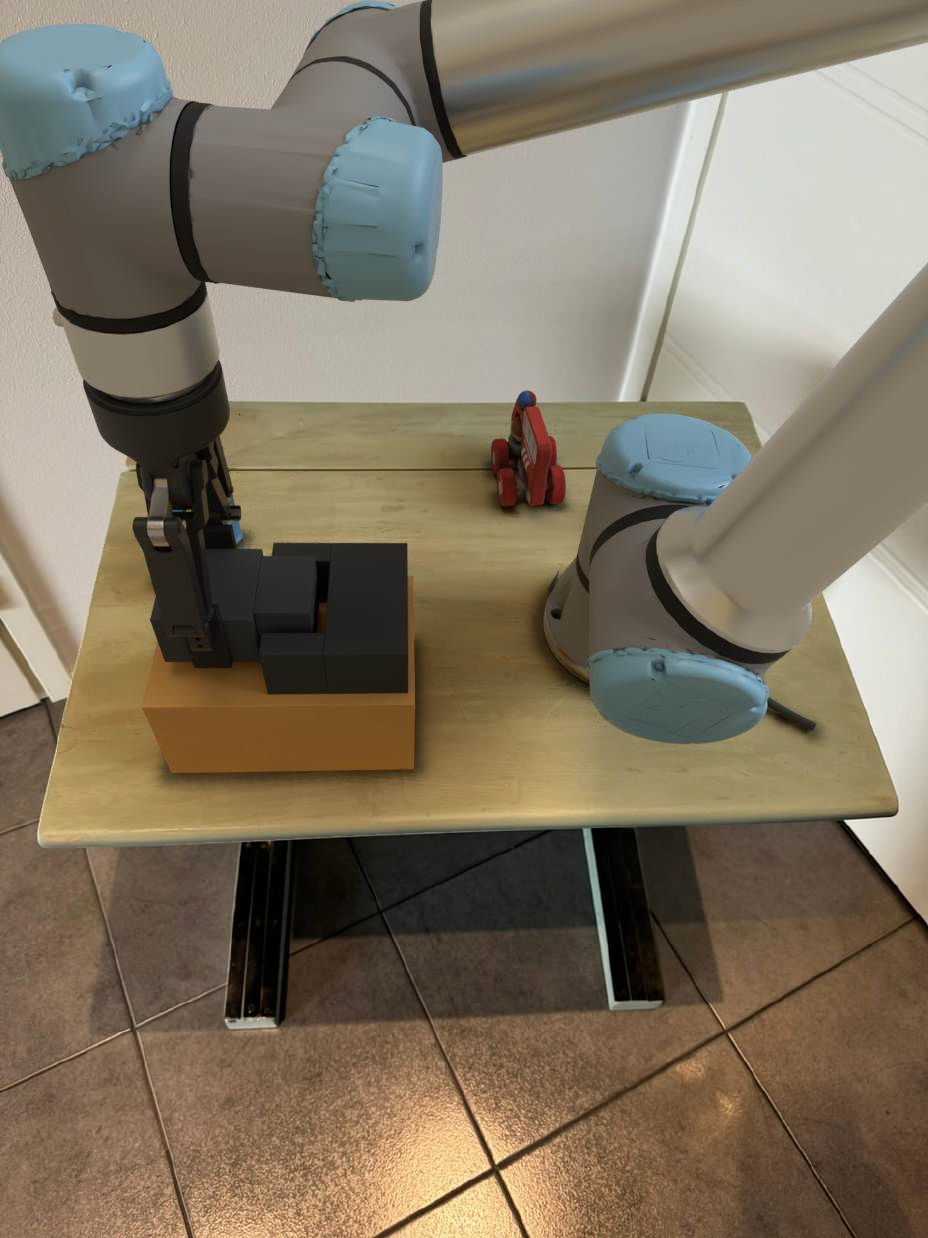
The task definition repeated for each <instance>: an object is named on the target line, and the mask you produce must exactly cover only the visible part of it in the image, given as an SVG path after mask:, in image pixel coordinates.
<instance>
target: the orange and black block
mask: <svg viewBox="0 0 928 1238" xmlns="http://www.w3.org/2000/svg"><path fill="white" fill-rule="evenodd" d="M408 551H409V550H408V542H273V544H272V551H271V556H314V557H315V561H316V570H317V580H318V589H319V598H320V600H319V612H318V624H317V633H262V634H261V642H260V649H259V658H260V662H233V663H232V668H194V666H193V663H192V662H165V660H164V658H163V655H162V652H161V649H160V647H159V644H158V641H157V640H156V644H155V648H154V653H153V658H152V661H151V666H150V671H149V675H148V679H147V684H146V688H145V693H144V697H143V703H142V706H141V708H142V711H143V713H144V715H145V717H146V720H147V722H148V724H149V727H150V729H151V731H152V733H153V735H154V737H155V739H156V742H157V745H158V746H159V749H160V751H161V753H162V755H163V758H164V760H165V762H166V764H167V767H168V769H169V771H170V773H171V774H206V773H207V774H209V773H210V774H212V773H216V774H217V773H219V774H220V773H271V772H277V773H278V772H329V771H331V772H333V771H339V772H340V771H390V770H392V771H394V770H396V771H397V770H414V769H415V732H416V731H415V730H416V726H415V725H416V722H415V721H416V683H415V681H416V680H415V679H416V677H415V676H416V675H415V674H416V673H415V672H416V671H415V609H414V608H415V607H414V606H415V605H414V604H415V603H414V598H415V597H414V576H413V575H409V567H408V565H409V564H408V563H409V557H408V554H409V553H408Z"/></svg>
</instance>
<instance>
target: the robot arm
mask: <svg viewBox="0 0 928 1238" xmlns="http://www.w3.org/2000/svg"><path fill="white" fill-rule="evenodd" d="M924 44H928V0H421V1H416V2H411V3H408V4H405V5H401V6H397V5H395V4H392V3H390V2H387V1H380V0H360V1H357V2H354V3H351V4H349V5H347V6H346V7H343V8H342V9H340V10H339V11H338V12H337V13H335V14H334V15H332V16H330V17H329V18H327V19H326V21H325V22H324V24H323V25H322V26H321V27H320V28H319V29H318V30H316V31H315V32H314V33H313V35H312V36H311V38H310V40H309V42H308V44H307V46H306V48H305V50H304V53H303V55H302V58H301V60H300V61H299V63H298V65H296V68H295V69H294V71H293V73H292V75H291V77H290V78H289V80H288V82H287V83H286V85H285V86H284V88H283V89H282V91H281V92H280V94H279V95H278V97H277V99H276V100H275V101H274V103H273V105H272V106H271V108H270V109H269V108H254V107H239V106H223V105H215V104H213V103H210V102H209V103H208V102H199V101H197V100H196V101H195V100H190V99H183V98H178V97H175V96H174V95H173V94H174V93H173V92H174V91H173V89H172V85H171V83H172V82H171V80H170V79H169V78H168V77H167V74H166V70H165V67H164V63H163V60H162V56H161V55H160V54H159V51H157V49H156V48H155V47H154V45H153V44H152V43H151V42H150V41H148V40H147V39H146V38H145V37H142V36H141V35H139V34H137V33H134V32H127V31H126V32H124V31H121V30H120V29H119V28H117V27H116V26H111V25H104V24H94V23H61V24H51V25H44V26H39V27H33V28H28V29H25V30H23V31H19V32H16V33H13V34H11V35H9V36H8V37H6V38H4V39H3V40H2V41H0V154H1V158H2V162H1V166H2V169H3V172H4V175H5V177H6V178H8V179H9V182H10V184H11V187H12V190H13V193H14V194H15V197H16V200H17V203H18V205H19V207H20V210H21V212H22V214H23V217H24V219H25V222H26V225H27V228H28V230H29V233H30V236H31V238H32V242H33V244H34V247H35V249H36V252H37V255H38V257H39V261H40V262H41V265H42V268H43V271H44V273H45V276H46V279H47V282H48V284H49V285H48V286H49V288H50V295H51V296H52V298H53V301H54V304H55V308H54V309H53V312H52V317H51V318H52V321H53V323H54V324H55V325H56V326H57V327H60V328H63V331H64V334H65V336H66V339H67V342H68V345H69V348H70V350H71V353H72V356H73V359H74V362H75V364H76V367H77V370H78V373H79V374H80V376H81V378H82V386H83V390H84V393H85V396H86V399H87V402H88V404H89V407H90V410H91V413H92V416H93V419H94V422H95V425H96V429H97V430H98V432H99V434H100V436H101V438H102V439H103V441H104V442H105V443H106V444H107V445H108V446H110V447H111V448H112V449H114V450H115V451H117V452H119V453H120V454H123V455H125V456H126V457H128V458H130V459H131V460H132V461H134V462H135V472H136V478H137V484H138V485H137V486H138V487H139V488H140V490H142V492H143V495H144V501H145V508H146V513H147V516H148V517H147V516H135V517H134V518H133V520H132V526H131V527H132V528H131V529H132V532H133V535H134V538H135V539H136V540H137V543H138V545H139V547H140V548H141V550H142V552H143V557H144V560H145V563H146V567H147V571H148V573H149V578H150V581H151V584H152V588H153V591H154V595H155V597H156V599H157V603H158V606H159V610H160V613H161V619H162V621H163V624H164V627H165V631H166V634H167V636H168V637H173V636H184V638H185V641H186V644H187V647H188V650H189V654H190V657H191V660H192V663H193V666H194V668H232V663H233V659H232V655H231V651H230V647H229V644H228V640H227V636H226V632H225V629H224V625H223V621H222V617H221V613H220V609H219V605H218V604H213V603H212V595H211V588H210V580H209V573H208V565H207V558H206V550H205V548H212V549H238V544H236V540H235V535H234V531H233V526H232V524H227V521H239V522H240V521H241V520H242V507H241V505H240V504H235V505H230V504H229V502H228V499H227V498H231V497H232V494H234V491H235V489H234V488H235V487H234V485H233V482H232V478H231V475H230V472H229V471H230V470H229V466H228V463H227V459H226V456H225V450H224V451H223V449H224V446H223V444H222V443H223V442H222V439H221V435H222V434H223V433H224V431H225V430H226V427H227V426H228V423H229V420H230V415H231V408H230V403H229V397H228V392H227V386H226V381H225V377H224V371H223V366H222V363H221V361H220V353H221V349H220V346H219V342H218V341H219V340H218V337H217V332H216V327H215V322H214V317H213V312H212V307H211V303H210V298H209V293H208V288H207V284H206V283H209V284H210V283H211V284H216V285H218V284H225V285H233V286H240V287H246V288H247V287H248V288H256V289H262V290H270V291H277V292H285V293H294V294H300V295H301V294H302V295H307V296H315V297H324V298H331V299H337V300H338V301H341V302H350V303H355V302H356V301H363V300H367V301H389V302H390V301H394V302H411V301H412V302H413V301H414V300H417V299H419V298H421V297H423V295H424V294H426V292H427V291H428V290H429V288H430V286H431V284H432V281H433V278H434V275H435V270H436V262H437V254H438V253H437V252H438V249H439V242H440V233H441V223H442V221H441V220H442V210H443V209H442V206H443V181H444V177H443V174H444V172H443V168H444V167H443V164H445V163H449V162H453V161H456V160H461V159H464V158H468V156H472V155H475V154H481V153H484V152H489V151H492V150H497V149H500V148H504V147H508V146H509V147H510V146H513V145H516V144H517V145H518V144H520V143H521V144H522V143H524V142H525V143H526V142H529V141H533V140H537V139H540V138H545V137H550V136H553V135H557V134H561V133H565V132H569V131H573V130H578V129H583V128H586V127H590V126H594V125H598V124H601V123H606V122H610V121H614V120H615V121H616V120H618V119H622V118H626V117H631V116H634V115H638V114H639V115H640V114H642V113H647V112H651V111H655V110H659V109H663V108H664V109H665V108H667V107H672V106H675V105H680V104H684V103H688V102H691V101H696V100H700V99H704V98H708V97H713V96H716V95H720V94H724V93H729V92H732V91H736V90H740V89H745V88H748V87H753V86H757V85H762V84H764V83H768V82H773V81H778V80H780V79H786V78H790V77H793V76H798V75H802V74H805V73H806V74H807V73H809V72H813V71H817V70H821V69H822V70H823V69H826V68H830V67H834V66H839V65H842V64H846V63H851V62H855V61H858V60H859V61H860V60H863V59H867V58H871V57H875V56H879V55H882V54H886V53H887V54H888V53H890V52H896V51H899V50H903V49H907V48H912V47H915V46H920V45H924ZM222 446H223V447H222ZM595 468H596V470H595V476H594V480H593V483H592V488H591V493H590V496H589V498H590V499H589V502H588V506H587V510H586V514H585V518H584V523H583V527H582V532H581V536H580V539H579V543H578V544H579V545H578V548H577V553H576V556H575V557H574V559H573V560H572V561H571V562H570V564H569V565H568V566H567V568H566V569H565V570H564V571H563V573H562V574H561V575H560V574H559V573H560V570H558V571H557V573H556V574H555V576H554V578H553V579H552V581H551V583H550V584H549V586H548V587H547V591H546V597H547V598H546V603H545V607H544V613H543V619H542V620H543V622H542V625H543V632H544V637H545V639H546V642H547V645H548V647H549V649H550V651H551V652H552V655H554V657H555V658H556V660H557V661H558V662H559V663H560V664H561V665H562V666H563V667H564V668H565V669H566V670H567V671H568V672H569V673H571V674H572V675H573V676H575V677H576V678H578V679H579V680H581V681H583V682H585V683H586V684H589V693H590V699H591V702H592V704H593V706H594V707H595V709H596V710H597V712H598V714H599V715H600V717H602V718H603V719H604V720H605V721H606V722H607V723H608V724H610V726H612V727H614V728H616V729H617V730H620V731H621V732H623V733H626V734H627V735H631V736H634V737H637V738H639V739H644V740H647V741H652V742H657V743H662V744H669V745H670V744H672V745H701V744H710V743H717V742H721V741H722V742H723V741H726V740H729V739H733V738H736V737H739V736H740V735H743V734H744V733H747V732H749V731H751V730H752V729H753V728H755V727H756V726H757V725H758V724H759V723H760V722H762V720H763V719H764V717H765V715H766V714H767V710H768V708H769V709H771V710H773V711H774V712H776V713H777V714H779V715H781V716H782V717H784V718H786V719H788V720H789V721H792V722H793V723H795V724H798V725H799V726H801V727H803V728H805V729H807V730H809V731H811V732H814V729H815V728H816V727H817V722H815V721H813V720H811V719H809V718H807V717H805V716H803V715H801V714H799V713H797V712H795V711H794V710H791V709H790V708H788V707H786V706H785V705H783V704H781V703H779V702H778V701H776V700H775V699H773V698H771V697H770V694H771V693H770V689H769V685H768V684H766V682H765V678H766V677H765V676H766V673H767V671H768V670H769V669H770V668H771V667H772V666H773V665H775V663H777V662H778V661H779V660H781V659H782V658H783V657H784V656H786V655H787V654H788V653H789V652H790V651H791V650H793V649H794V648H795V647H797V646H798V645H799V644H800V643H801V642H802V641H803V640H804V639H805V637H806V636H807V634H808V633H809V631H810V629H811V625H812V620H813V608H812V601H813V600H814V599H816V598H817V597H818V596H819V595H820V594H821V593H823V592H824V591H825V590H827V588H828V587H830V586H831V585H832V584H833V583H834V582H836V581H837V580H838V579H839V578H840V577H842V576H843V575H844V574H845V573H846V572H848V571H849V570H850V569H851V568H852V567H853V566H854V565H856V564H857V563H859V561H861V559H863V558H864V557H865V556H867V554H869V553H870V552H872V550H874V549H875V548H876V547H877V546H878V545H879V544H881V543H882V542H883V541H884V540H885V539H887V538H888V537H889V536H890V535H891V534H893V533H894V532H895V531H896V530H897V529H899V528H900V527H901V526H902V525H903V524H904V523H905V522H907V521H908V520H909V519H910V518H911V517H913V516H914V515H915V514H916V513H917V512H918V511H920V510H921V509H922V508H923V507H925V506H926V505H927V504H928V261H927V262H926V263H925V264H924V266H923V267H922V268H921V269H920V270H919V271H918V272H917V273H916V275H915V276H914V277H913V278H912V279H911V280H910V281H909V282H908V283H907V284H906V286H905V287H904V288H903V289H902V290H901V291H900V292H899V294H898V295H897V296H896V297H895V298H894V299H893V301H891V302H890V303H889V305H888V306H887V307H886V308H884V310H883V311H882V313H881V314H879V316H878V317H877V318H876V319H875V320H874V321H873V323H872V324H870V326H869V327H868V328H867V329H866V330H865V332H864V333H863V334H861V336H860V337H859V338H858V339H857V340H856V342H855V343H853V345H852V346H851V347H850V348H849V350H848V351H846V353H845V354H844V355H843V356H842V357H841V358H840V359H839V360H838V362H837V363H836V364H835V365H834V366H833V367H832V368H831V369H830V370H829V372H827V374H826V375H825V376H824V377H823V378H822V379H821V381H820V382H819V383H818V384H817V385H816V386H815V387H814V388H813V390H812V391H811V392H810V393H809V394H808V395H807V396H806V397H805V399H803V400H802V402H801V403H800V404H799V405H798V406H797V407H796V408H795V410H793V412H792V413H791V414H790V415H789V416H788V417H787V419H786V420H785V421H784V422H783V423H782V424H781V425H780V427H778V429H776V430H775V432H774V433H773V434H772V435H771V436H770V437H769V439H767V441H766V442H765V443H764V444H763V445H762V447H760V449H759V450H758V451H757V452H756V453H755V454H754V456H752V455H751V453H750V451H749V450H748V449H747V447H746V446H745V444H744V443H743V442H742V441H741V440H740V439H738V437H736V436H734V435H733V434H732V433H730V432H729V431H728V430H726V429H723V428H721V427H719V426H717V425H716V424H713V423H711V422H709V421H706V420H704V419H700V418H697V417H693V416H688V415H683V414H675V413H648V414H642V415H637V416H634V417H632V418H631V419H627V420H624V421H622V422H621V423H620V422H619V424H617V425H615V426H614V427H613V428H612V429H611V430H610V431H609V433H608V434H607V436H606V437H605V439H604V441H603V444H602V447H601V450H600V453H599V454H598V456H597V457H596V460H595ZM172 510H191V512H186V511H172ZM559 575H560V576H559Z"/></svg>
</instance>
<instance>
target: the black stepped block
mask: <svg viewBox="0 0 928 1238" xmlns="http://www.w3.org/2000/svg"><path fill="white" fill-rule="evenodd" d="M205 550H206V558H207V565H208V573H209V580H210V588H211V595H212V603H213V604H218V605H219V609H220V613H221V617H222V621H223V625H224V629H225V632H226V636H227V640H228V644H229V647H230V651H231V655H232V659H233V662H260V658H259V649H260V642H261V634H262V633H317V624H318V612H319V600H320V598H319V589H318V580H317V570H316V561H315V557H314V556H272V555H264V551H263V549H262V548H237V549H212V548H205ZM149 621H150V624H151V627H152V630H153V633H154V635H155V638H156V642H157V641H158V644H159V647H160V649H161V652H162V655H163V658H164V660H165V662H192V660H191V657H190V654H189V650H188V647H187V644H186V641H185V638H184V636H173V637H168V636H167V634H166V631H165V627H164V624H163V621H162V619H161V613H160V610H159V606H158V603H157V599H156V596H154V602H153V606H152V610H151V613H150V618H149Z"/></svg>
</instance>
